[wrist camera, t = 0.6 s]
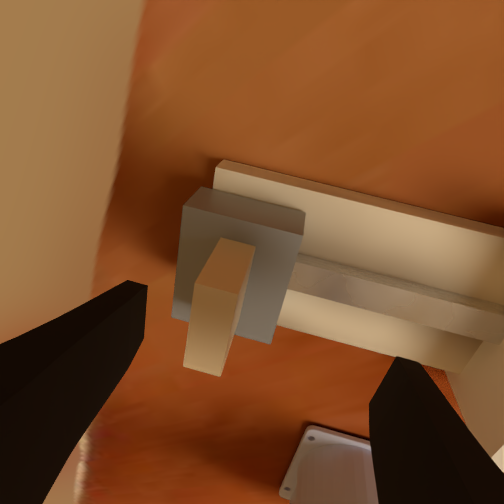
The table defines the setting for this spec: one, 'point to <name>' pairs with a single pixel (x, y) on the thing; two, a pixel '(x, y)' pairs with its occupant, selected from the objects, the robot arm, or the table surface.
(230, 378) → the table surface
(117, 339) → the robot arm
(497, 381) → the cabinet
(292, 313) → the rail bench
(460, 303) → the rail
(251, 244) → the carriage
